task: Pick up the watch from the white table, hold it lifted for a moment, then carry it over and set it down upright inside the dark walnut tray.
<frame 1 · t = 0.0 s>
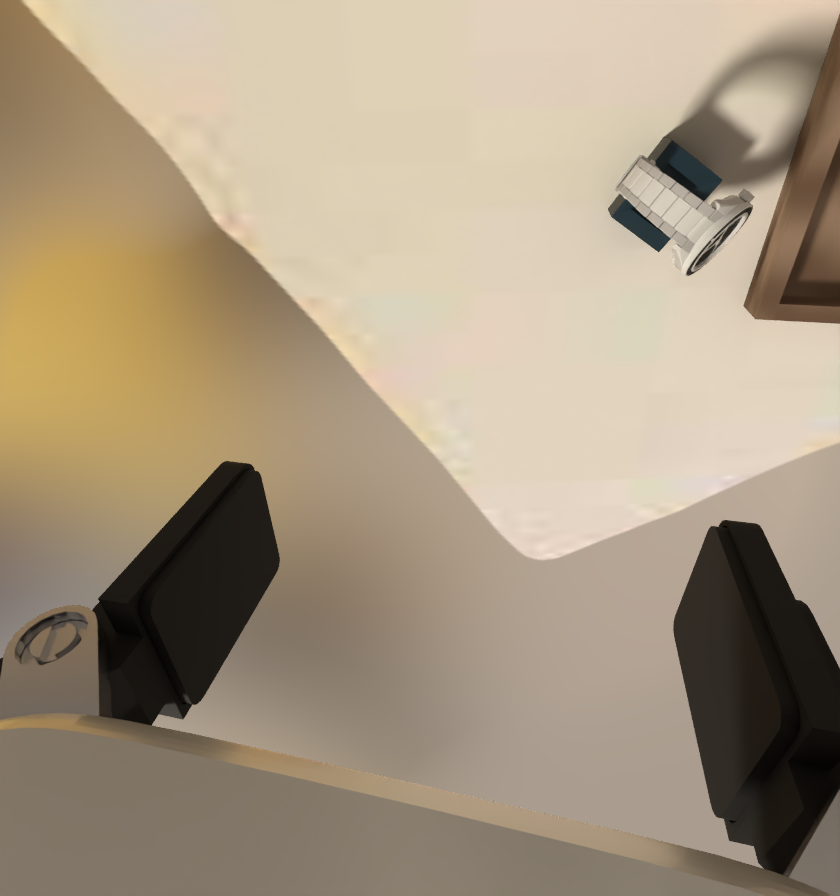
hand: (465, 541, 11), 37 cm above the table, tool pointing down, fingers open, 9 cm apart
watch: (658, 192, 39), on the table
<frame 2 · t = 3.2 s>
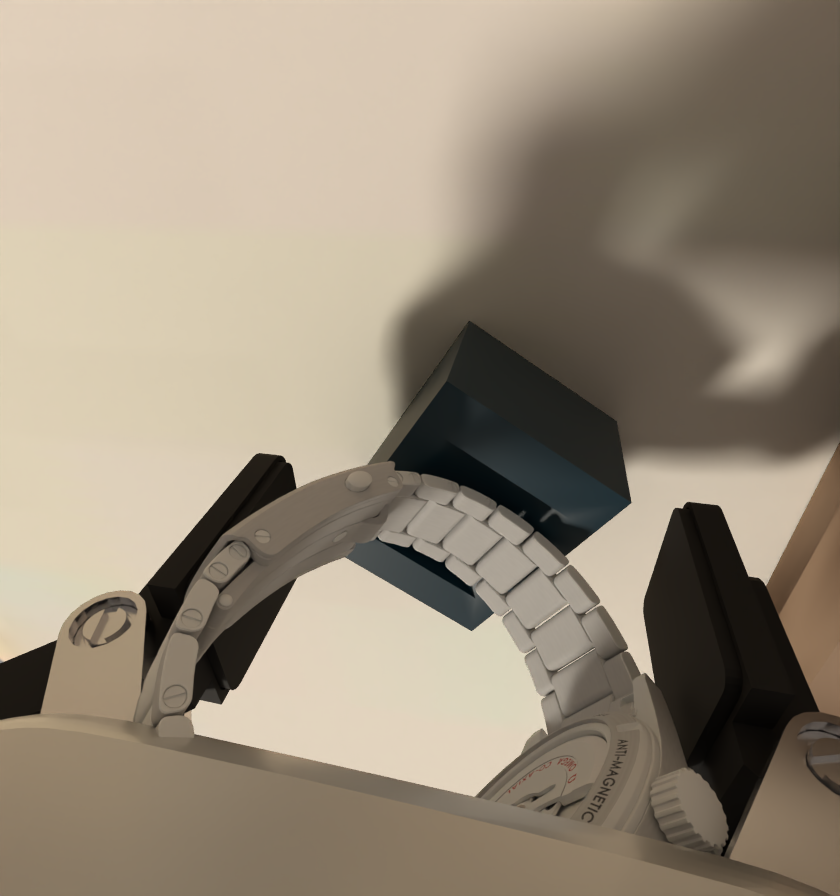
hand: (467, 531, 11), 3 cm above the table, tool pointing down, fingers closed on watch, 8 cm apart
watch: (483, 444, 14), on the table, touching gripper
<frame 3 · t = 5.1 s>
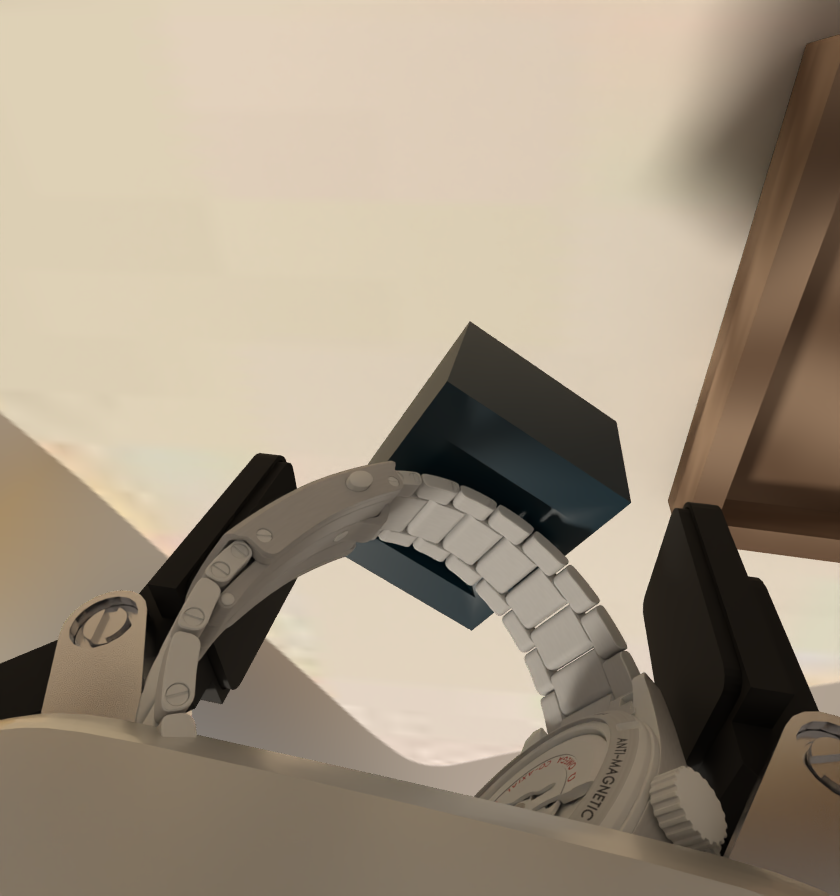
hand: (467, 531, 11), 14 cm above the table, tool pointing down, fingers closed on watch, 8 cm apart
watch: (483, 444, 14), point 11 cm above the table, touching gripper
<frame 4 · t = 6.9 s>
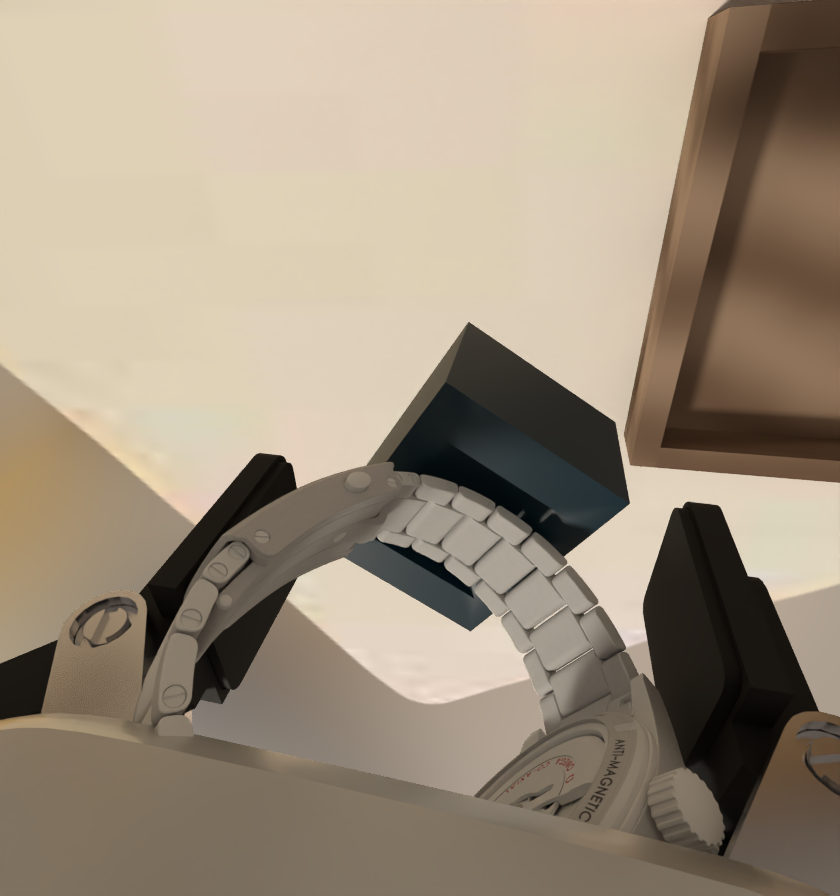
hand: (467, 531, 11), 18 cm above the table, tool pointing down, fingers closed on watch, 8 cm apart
watch: (482, 445, 14), point 15 cm above the table, touching gripper
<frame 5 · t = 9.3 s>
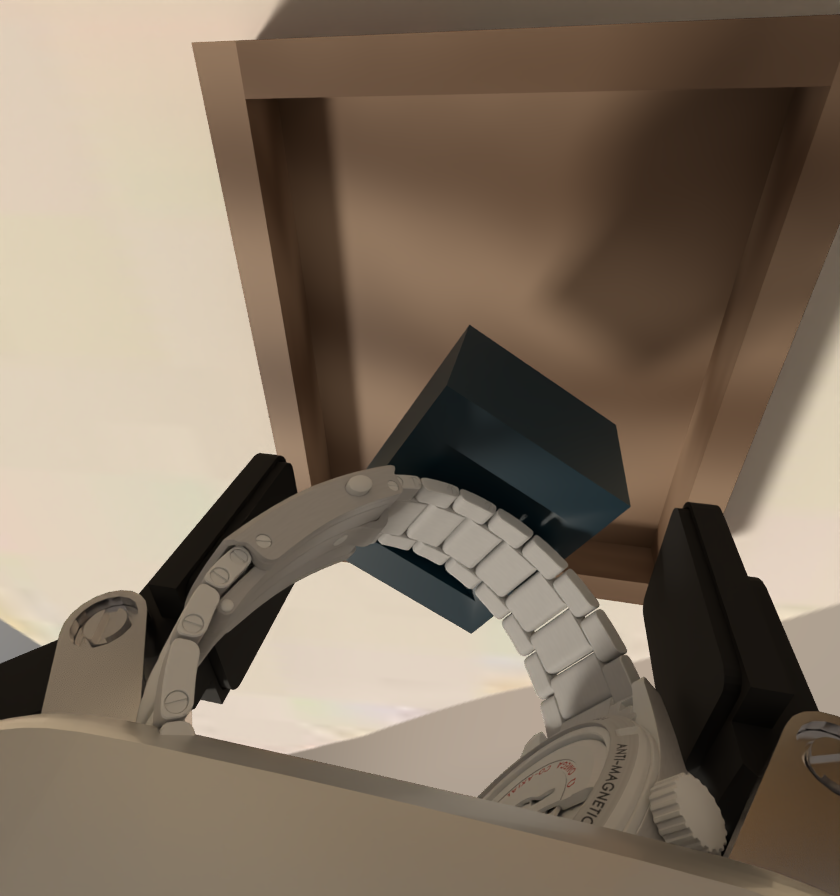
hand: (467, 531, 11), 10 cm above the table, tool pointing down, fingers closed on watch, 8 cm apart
tray: (498, 350, 19), on the table
watch: (483, 447, 14), point 6 cm above the table, touching gripper
when the fingers open (5 cm above the table, at t = 11.2 s): watch drops 1 cm, resting on tray.
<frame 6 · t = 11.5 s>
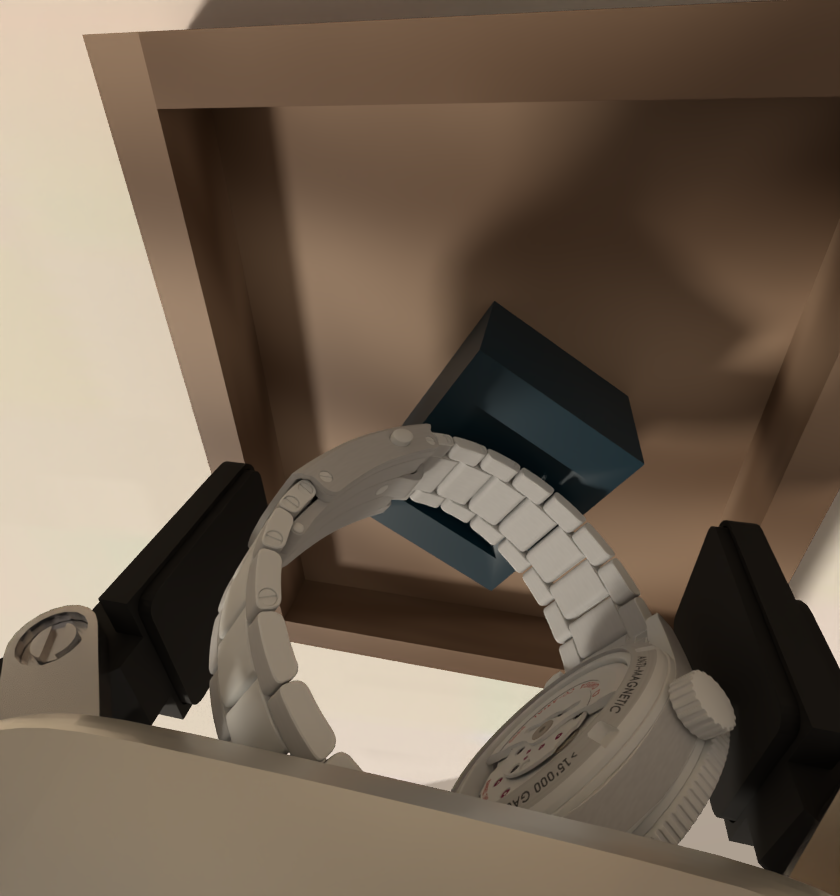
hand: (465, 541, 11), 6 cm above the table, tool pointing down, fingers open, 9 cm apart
tray: (492, 409, 16), on the table
watch: (502, 419, 15), point 1 cm above the table, touching tray
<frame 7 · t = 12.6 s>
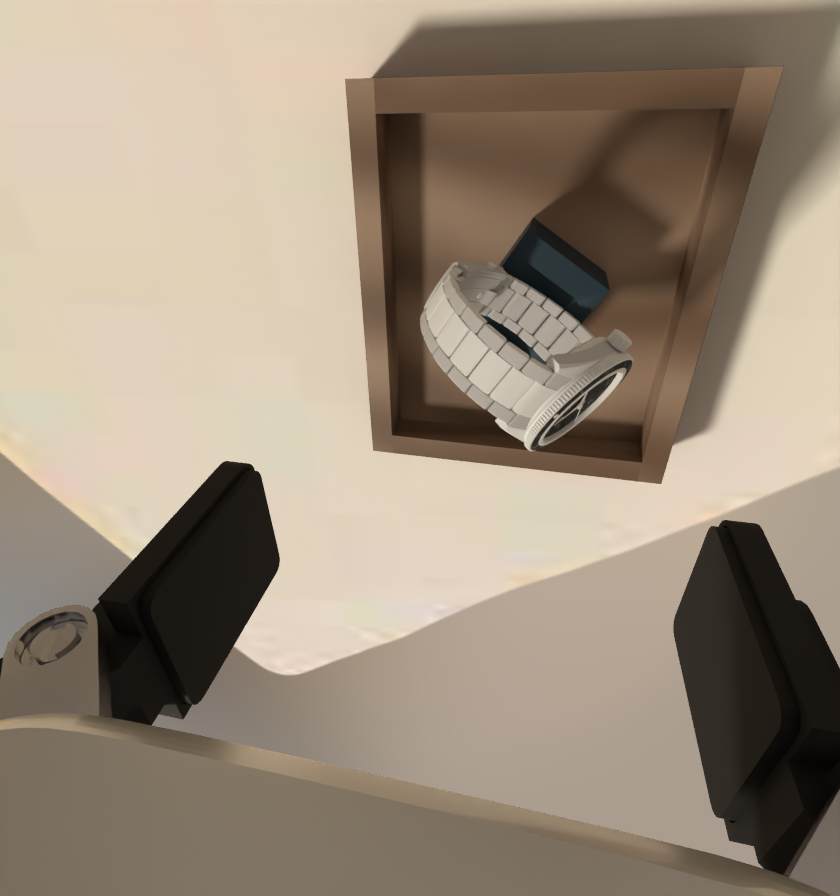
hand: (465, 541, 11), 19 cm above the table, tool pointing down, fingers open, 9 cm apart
tray: (528, 290, 27), on the table
watch: (535, 292, 26), point 1 cm above the table, touching tray
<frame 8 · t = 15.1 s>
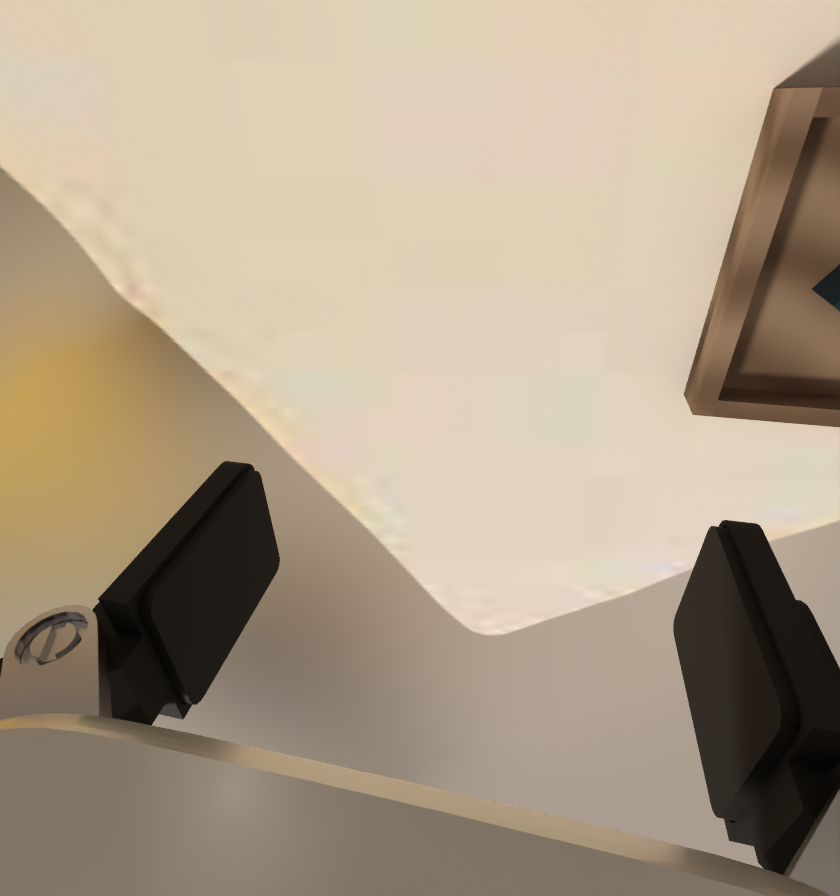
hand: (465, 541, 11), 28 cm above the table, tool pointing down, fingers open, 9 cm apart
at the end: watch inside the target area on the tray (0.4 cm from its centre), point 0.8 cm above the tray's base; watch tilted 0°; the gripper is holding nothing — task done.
